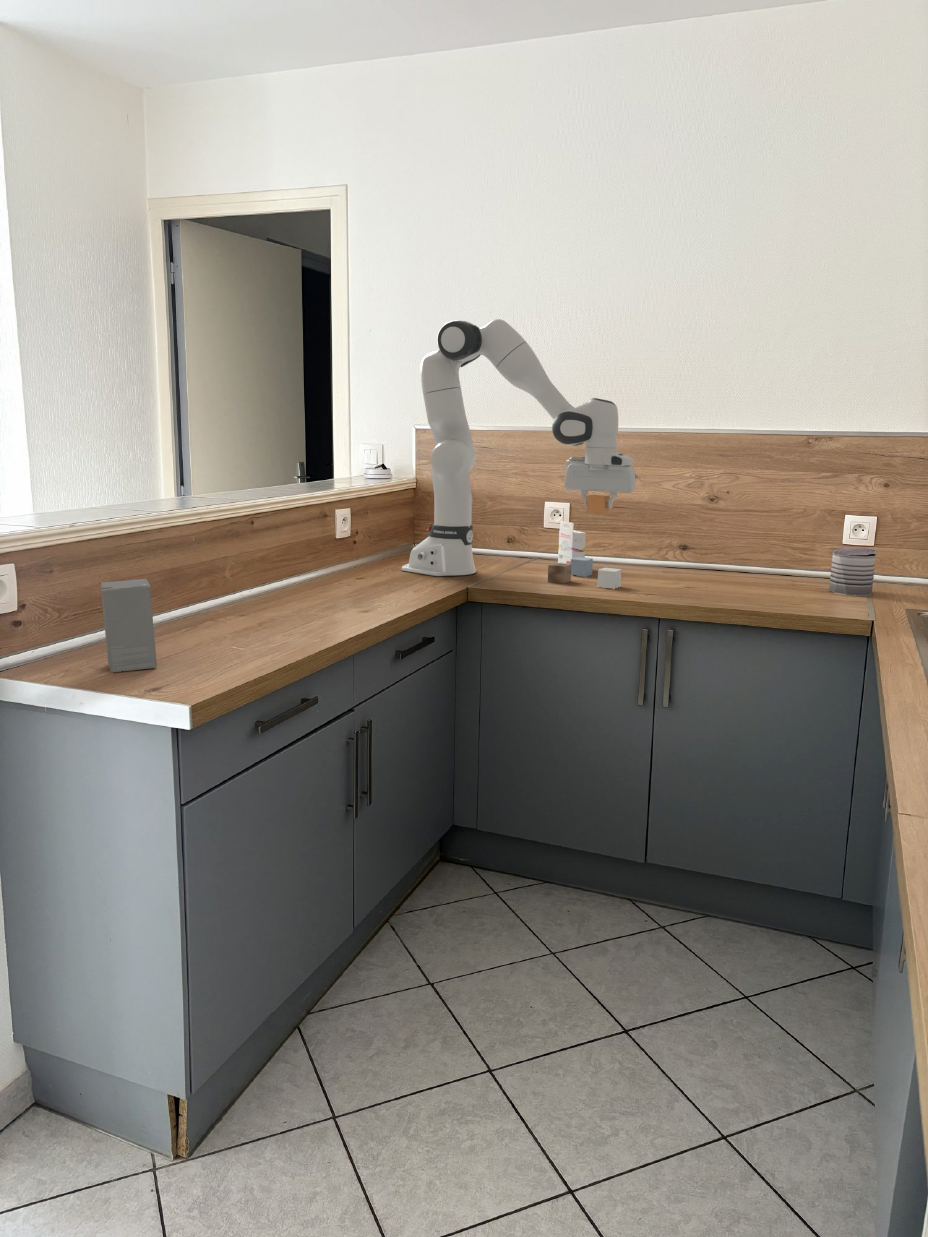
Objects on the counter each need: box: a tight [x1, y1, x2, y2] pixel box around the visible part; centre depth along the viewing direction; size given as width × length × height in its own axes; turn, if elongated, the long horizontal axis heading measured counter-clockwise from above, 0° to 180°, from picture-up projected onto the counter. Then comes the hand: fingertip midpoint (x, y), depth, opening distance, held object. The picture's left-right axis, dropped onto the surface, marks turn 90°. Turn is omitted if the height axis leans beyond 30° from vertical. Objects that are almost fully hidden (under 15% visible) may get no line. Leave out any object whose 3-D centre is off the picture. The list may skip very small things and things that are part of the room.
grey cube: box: [596, 567, 622, 590], centre depth 260 cm, size 5×5×5 cm
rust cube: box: [585, 494, 611, 516], centre depth 265 cm, size 5×5×5 cm
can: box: [828, 547, 878, 597], centre depth 258 cm, size 11×11×12 cm
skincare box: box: [100, 578, 158, 674], centre depth 169 cm, size 8×7×16 cm
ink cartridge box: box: [557, 520, 587, 564], centre depth 289 cm, size 9×5×15 cm, turn 25°
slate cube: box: [571, 557, 594, 578], centre depth 279 cm, size 5×5×5 cm
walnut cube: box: [547, 562, 572, 584], centre depth 267 cm, size 5×5×5 cm
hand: (598, 507), depth 265 cm, fingers closed on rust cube, 5 cm apart
